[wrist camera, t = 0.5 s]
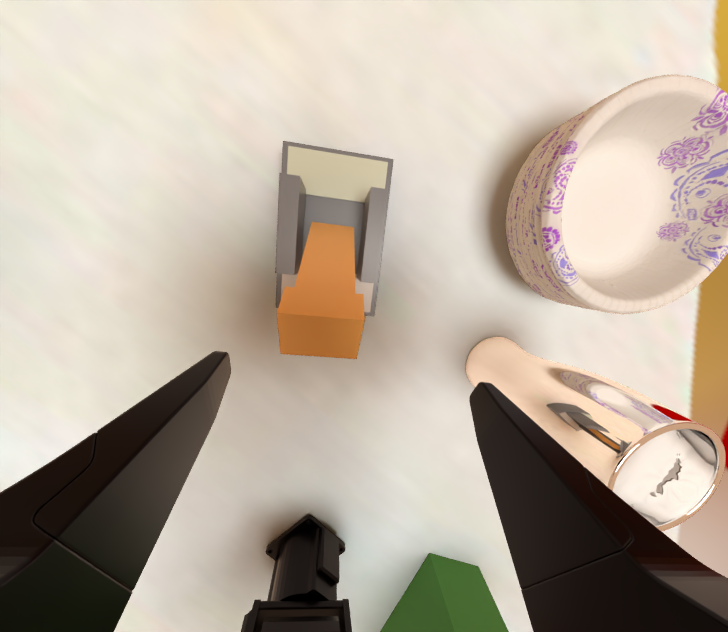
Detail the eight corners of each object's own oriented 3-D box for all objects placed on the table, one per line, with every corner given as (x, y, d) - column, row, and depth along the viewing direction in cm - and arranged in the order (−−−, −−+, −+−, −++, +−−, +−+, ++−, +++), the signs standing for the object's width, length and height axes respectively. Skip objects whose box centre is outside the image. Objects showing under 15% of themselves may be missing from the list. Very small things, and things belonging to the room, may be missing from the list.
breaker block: (369, 309, 25) (381, 326, 19) (282, 301, 24) (264, 317, 18) (385, 172, 23) (405, 138, 16) (290, 156, 22) (271, 114, 15)
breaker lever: (354, 249, 21) (356, 358, 13) (308, 244, 20) (280, 353, 12) (358, 217, 19) (364, 320, 11) (308, 210, 19) (277, 312, 11)
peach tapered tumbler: (447, 364, 27) (578, 488, 13) (499, 318, 27) (697, 391, 12) (486, 406, 29) (642, 559, 14) (535, 363, 28) (750, 475, 14)
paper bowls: (455, 192, 24) (514, 161, 16) (602, 94, 23) (735, 12, 15) (523, 327, 27) (597, 355, 20) (651, 245, 27) (778, 240, 19)
